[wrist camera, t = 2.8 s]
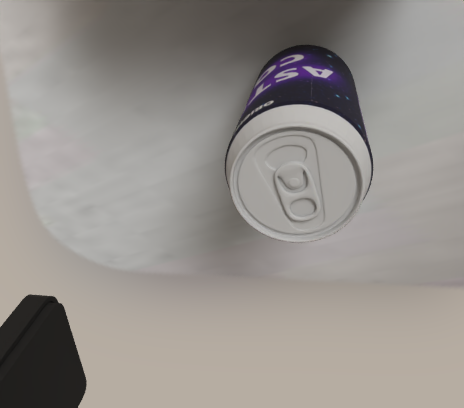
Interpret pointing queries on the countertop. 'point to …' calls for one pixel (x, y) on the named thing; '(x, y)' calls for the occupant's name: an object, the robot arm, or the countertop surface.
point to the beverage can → (300, 148)
